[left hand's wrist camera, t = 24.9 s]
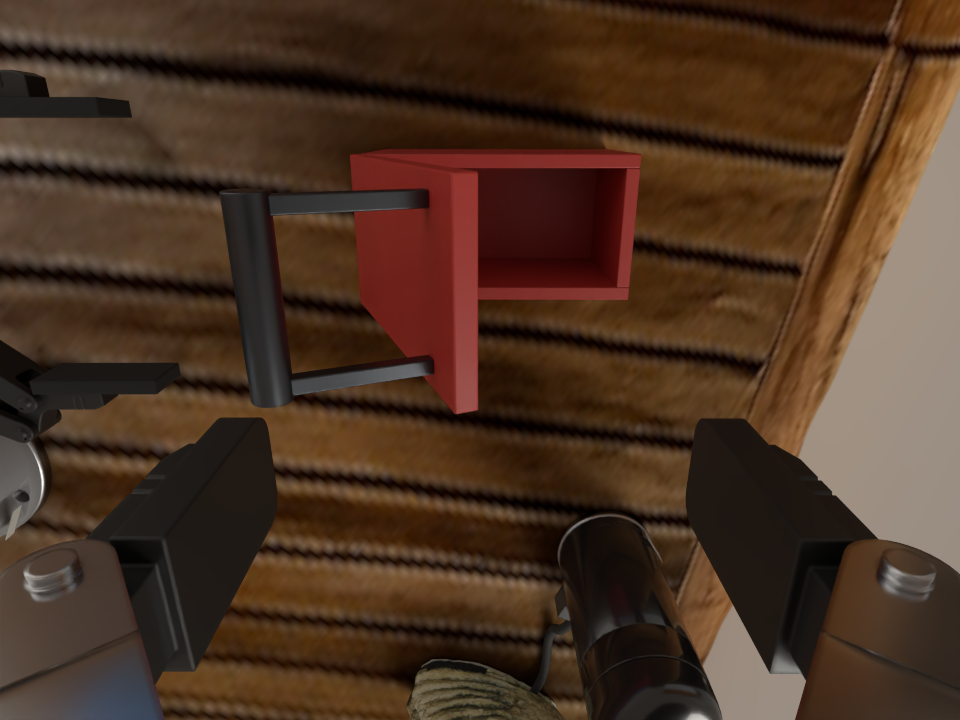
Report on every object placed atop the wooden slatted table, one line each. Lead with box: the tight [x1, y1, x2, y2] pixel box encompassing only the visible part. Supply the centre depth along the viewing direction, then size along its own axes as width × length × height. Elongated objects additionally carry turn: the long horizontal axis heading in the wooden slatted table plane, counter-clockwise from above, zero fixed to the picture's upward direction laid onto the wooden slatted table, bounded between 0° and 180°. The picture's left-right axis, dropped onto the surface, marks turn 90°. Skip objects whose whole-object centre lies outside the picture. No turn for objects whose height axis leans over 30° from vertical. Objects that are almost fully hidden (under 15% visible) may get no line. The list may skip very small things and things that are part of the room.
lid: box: [220, 154, 478, 414], centre depth 28 cm, size 18×9×8 cm
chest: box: [363, 149, 641, 300], centre depth 43 cm, size 17×9×11 cm, turn 90°
